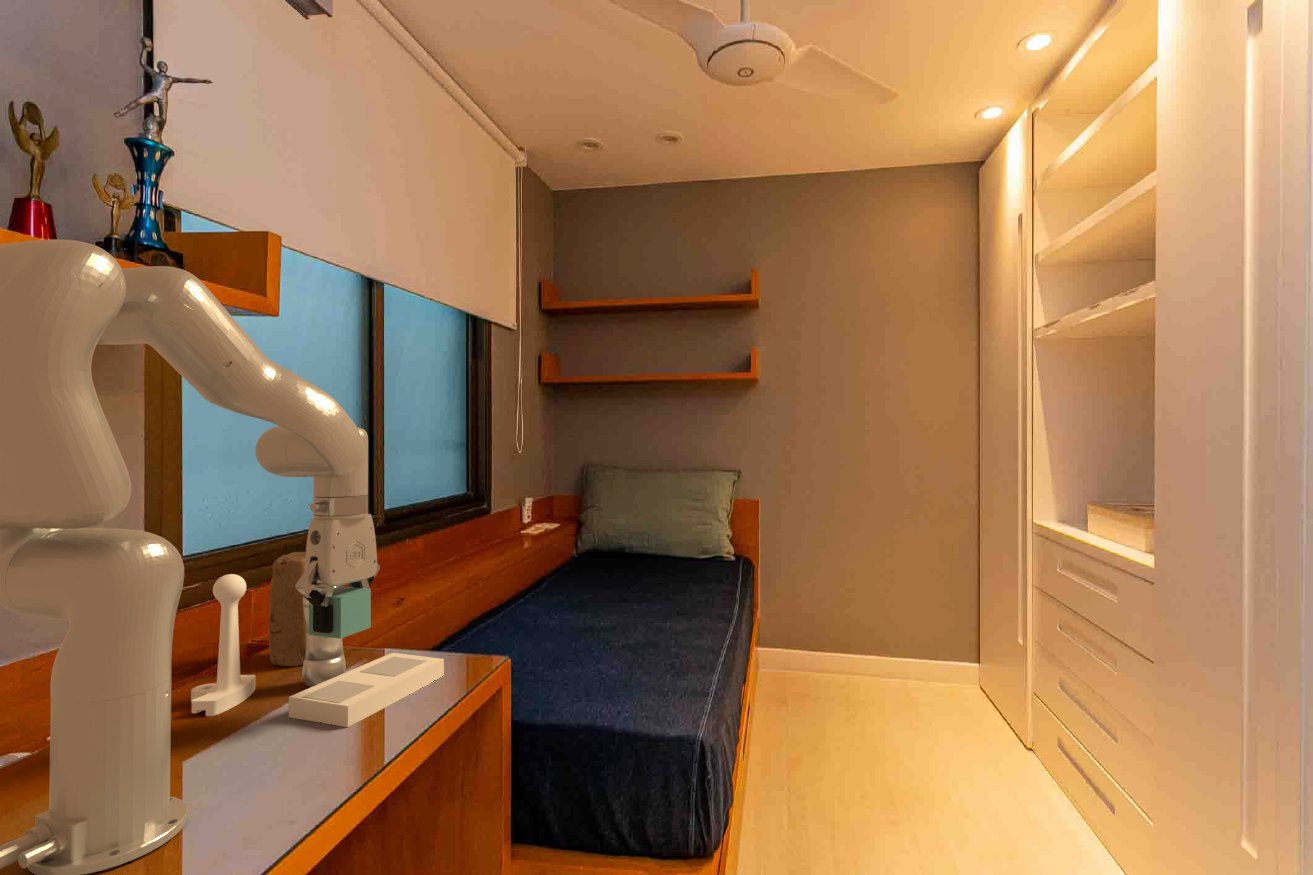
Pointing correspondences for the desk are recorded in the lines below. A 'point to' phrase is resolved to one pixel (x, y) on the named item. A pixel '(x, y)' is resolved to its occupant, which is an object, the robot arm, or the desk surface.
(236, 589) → the joystick
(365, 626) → the cube
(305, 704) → the board
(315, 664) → the plastic bottle
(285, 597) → the block
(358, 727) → the desk surface
